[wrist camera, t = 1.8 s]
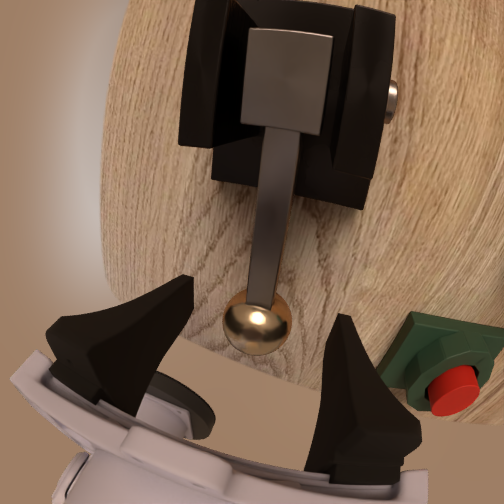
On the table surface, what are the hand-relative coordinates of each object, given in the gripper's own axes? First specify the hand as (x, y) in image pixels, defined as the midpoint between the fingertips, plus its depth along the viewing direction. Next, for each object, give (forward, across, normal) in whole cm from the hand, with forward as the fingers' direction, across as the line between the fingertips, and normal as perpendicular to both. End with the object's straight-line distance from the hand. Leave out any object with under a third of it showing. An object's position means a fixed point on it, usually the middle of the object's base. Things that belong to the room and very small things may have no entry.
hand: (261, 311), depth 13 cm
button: (0, -13, +3) cm, 13 cm away
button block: (+3, -13, +3) cm, 14 cm away
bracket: (+3, 0, -10) cm, 10 cm away
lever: (0, 0, -5) cm, 5 cm away
